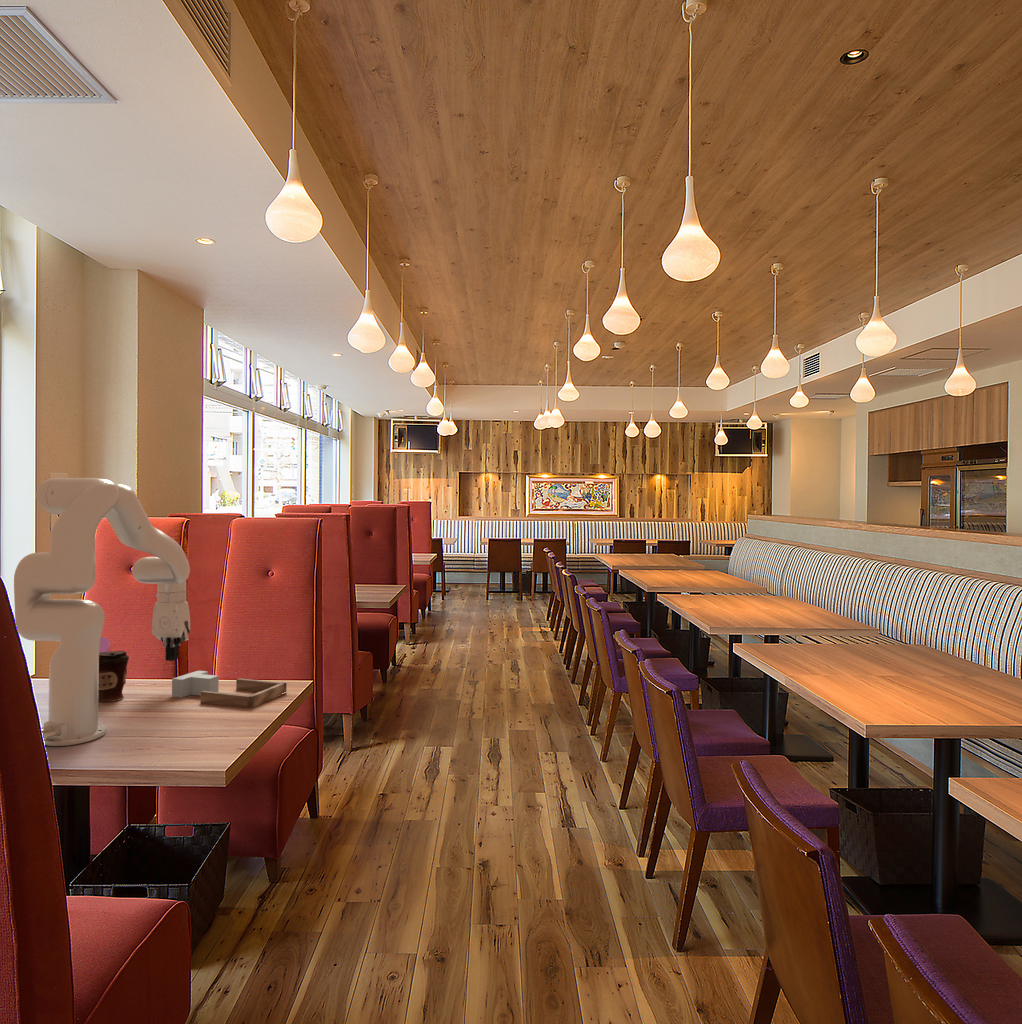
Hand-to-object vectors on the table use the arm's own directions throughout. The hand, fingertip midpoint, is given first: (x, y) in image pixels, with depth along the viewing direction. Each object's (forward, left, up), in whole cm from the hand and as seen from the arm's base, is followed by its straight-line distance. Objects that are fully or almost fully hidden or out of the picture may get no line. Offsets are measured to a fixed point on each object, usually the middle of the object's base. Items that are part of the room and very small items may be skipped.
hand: (172, 659), depth 191 cm
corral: (-1, -25, -9) cm, 27 cm away
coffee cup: (-14, +8, -9) cm, 18 cm away
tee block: (-1, -10, -9) cm, 14 cm away
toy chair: (-6, +20, -9) cm, 23 cm away
